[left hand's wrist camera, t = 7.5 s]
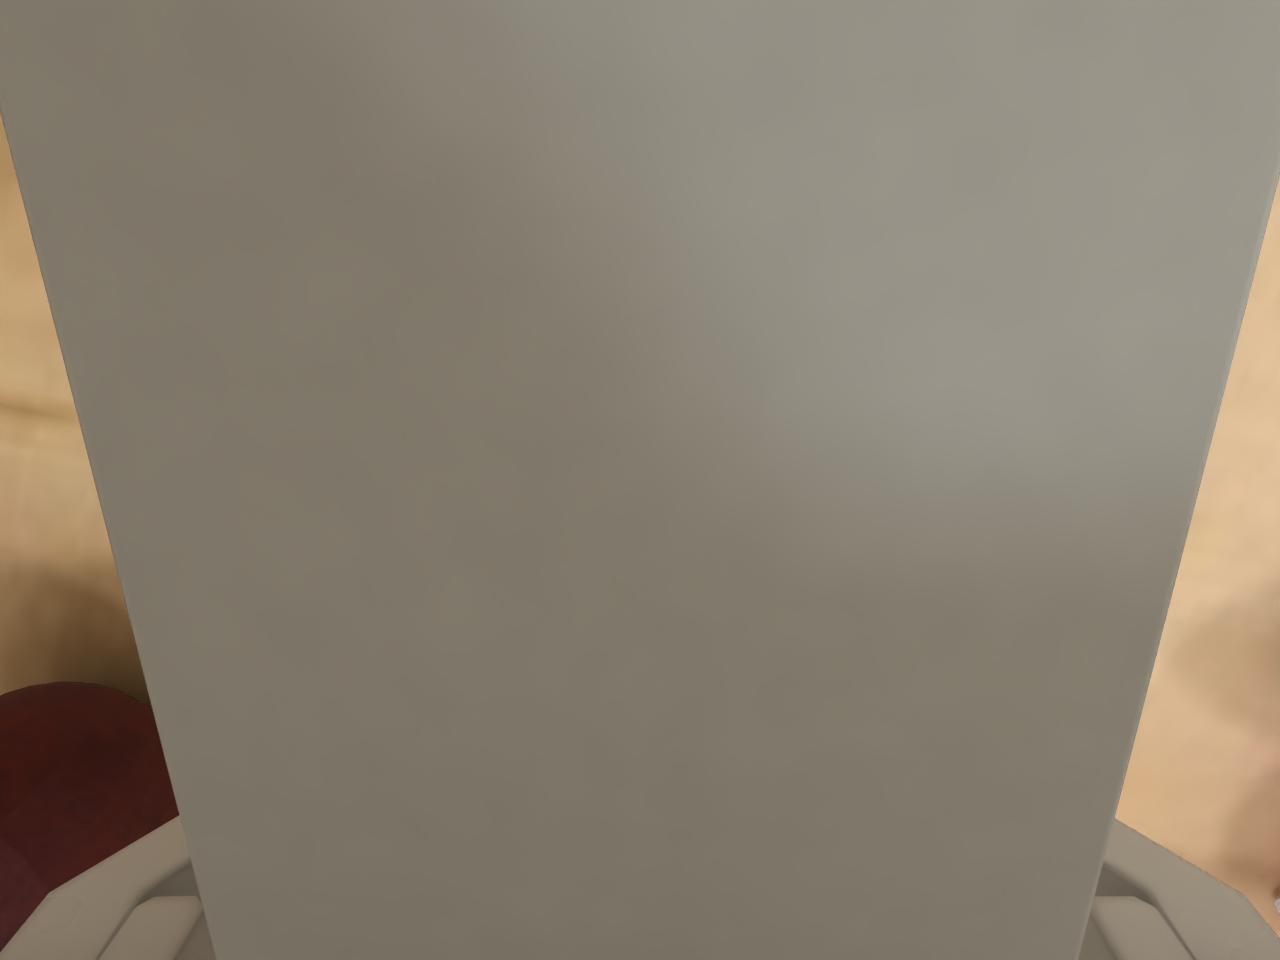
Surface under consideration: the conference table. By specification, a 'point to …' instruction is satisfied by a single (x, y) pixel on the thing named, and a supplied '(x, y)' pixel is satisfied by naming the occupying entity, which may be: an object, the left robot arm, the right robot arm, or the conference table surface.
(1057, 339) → the bar
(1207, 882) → the left robot arm
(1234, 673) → the conference table surface
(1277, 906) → the fish
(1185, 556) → the conference table surface
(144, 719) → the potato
